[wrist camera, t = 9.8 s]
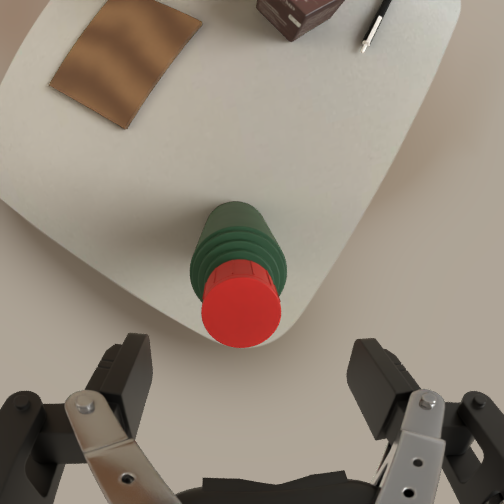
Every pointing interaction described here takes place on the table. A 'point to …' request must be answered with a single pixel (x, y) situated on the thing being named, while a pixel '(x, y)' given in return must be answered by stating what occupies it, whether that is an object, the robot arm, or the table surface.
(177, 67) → the table surface
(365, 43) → the pen
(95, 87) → the plate
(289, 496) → the robot arm
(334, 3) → the box
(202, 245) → the bottle
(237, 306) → the cap
